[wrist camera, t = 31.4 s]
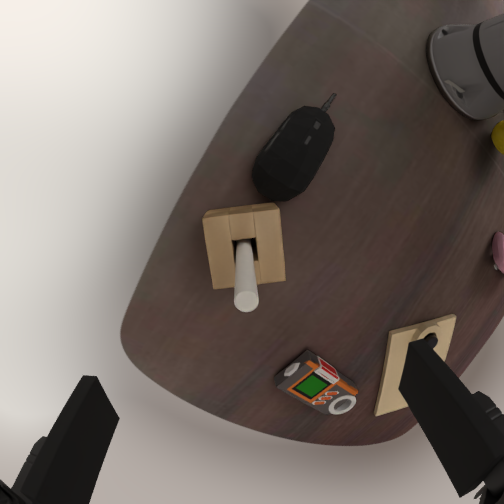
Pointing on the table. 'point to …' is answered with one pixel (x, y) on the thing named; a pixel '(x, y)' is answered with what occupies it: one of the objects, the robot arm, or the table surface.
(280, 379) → the electronic device
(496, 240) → the video game controller
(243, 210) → the pen stand
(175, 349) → the table surface
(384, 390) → the plate
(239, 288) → the stylus
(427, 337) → the button
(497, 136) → the fruit
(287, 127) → the gaming mouse
